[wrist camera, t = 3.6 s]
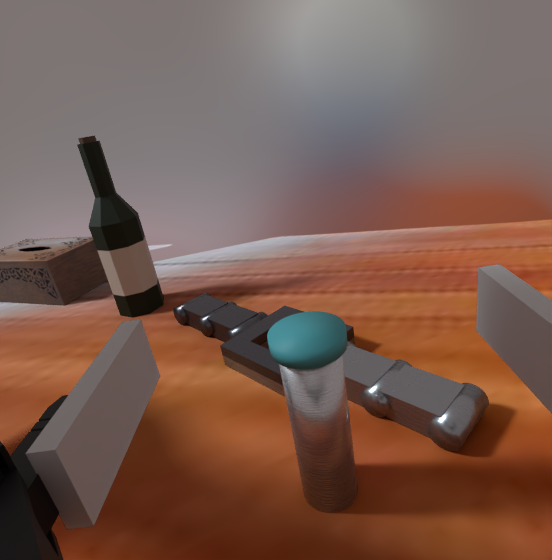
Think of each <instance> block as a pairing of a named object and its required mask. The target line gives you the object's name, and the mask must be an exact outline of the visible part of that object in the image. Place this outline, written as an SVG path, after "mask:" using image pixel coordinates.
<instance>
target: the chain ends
mask: <svg viewBox="0 0 552 560" xmlns="http://www.w3.org/2000/svg"><path fill="white" fill-rule="evenodd" d="M302 312H303V311H300V310H297V309H294V308H290V307H287V306H283V307H282V308H280V309H279V310H277V311H275V312H274V313H272V314H270V315H269V316H268V315H267V314H265V313H264V312H259V313H257V312H254V311H251V310H248V309H245V308H242V307H240V306H237V305H236V304H235V303H234V302H229V303H228V302H225V301H222V300H220V299H217V298H214V297H211V296H210V295H209V294H208V293H204V294H202V295H200V296H198V297H196V298H194V299H192V300H190V301H188V302H186V303H184V304H182V305H180V306H178V307H176V308H174V315H175V318H176V319H177V321H178V322H179V323H180V324H181V325H184V324H187V325H189V326H191V327H193V328H195V329H198V330H200V331H201V332H202V333H203V334H204V335H205V336H207V337H209V336H213V337H215V338H217V339H219V340H221V341H223V342H225V343H223V344H222V345H220V347H221V350H222V354H223V358H224V362H225V365H226V366H228V367H230V368H232V369H234V370H236V371H238V372H240V373H242V374H243V375H245V376H247V377H249V378H251V379H253V380H255V381H257V382H258V383H260V384H262V385H264V386H266V387H268V388H270V389H272V390H274V391H275V392H277V393H279V394H281V395H283V396H285V393H284V388H283V382H282V377H281V372H280V367H279V364H278V363H277V362H275V361H274V360H273V358H272V357H271V354H270V349H269V344H268V339H267V334H268V331H269V330H270V328H271V327H272V326H273V325H274V324H275V323H276V322H278V321H279V320H281V319H283V318H285V317H288V316H290V315H293V314H297V313H302ZM346 333H347V342H348V345H347V349H346V351H345V353H344V354H343V355H342V356H343V365H344V374H345V382H346V391H347V399H348V400H350V401H352V402H354V403H356V404H359V405H361V406H363V407H364V408H365V409H366V410H367V411H368V412H369V413H370V414H372V415H373V416H375V417H380V418H381V417H386V418H389V419H391V420H393V421H395V422H397V423H399V424H401V425H404V426H406V427H408V428H410V429H412V430H414V431H416V432H419V433H421V434H423V435H425V436H427V437H429V438H431V439H432V440H433V442H434V443H436V444H437V445H438V446H439V447H441V448H443V449H445V450H448V451H458V450H459V449H460V448H461V446H462V445H463V443H464V442H465V440H466V439H467V437H468V436H469V434H470V433H471V431H472V430H473V428H474V427H475V425H476V424H477V422H478V421H479V419H480V418H481V416H482V415H483V413H484V411H485V410H486V408H487V407H488V405H489V400H488V397H487V395H486V394H485V392H484V391H483V390H482V389H480V388H479V387H478V386H476V385H473V384H470V383H462V384H460V383H457V382H454V381H452V380H449V379H446V378H443V377H440V376H437V375H434V374H432V373H429V372H426V371H423V370H420V369H417V368H414V367H412V366H411V365H410V364H409V363H408V362H406V361H404V360H395V361H394V360H391V359H389V358H386V357H383V356H380V355H377V354H374V353H371V352H369V351H366V350H363V349H360V348H357V347H356V346H355V341H354V331H353V327H352V326H349V325H346Z"/></svg>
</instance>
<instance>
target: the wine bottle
mask: <svg viewBox="0 0 552 560" xmlns="http://www.w3.org/2000/svg"><path fill="white" fill-rule="evenodd" d="M79 142H80V144H79V145H78V148H79V151H80V154H81V157H82V160H83V163H84V166H85V169H86V172H87V174H88V177H89V180H90V183H91V186H92V189H93V192H94V195H95V202H94V207H93V211H92V215H91V219H90V223H89V229H90V231H91V234H92V237H93V240H94V243H95V245H96V248H97V251H98V254H99V257H100V259H101V262H102V265H103V268H104V270H105V273H106V276H107V279H108V282H109V284H110V287H111V290H112V293H113V296H114V298H115V301H116V304H117V307H118V309H119V312H120V315H122V316H128V317H136V316H140V315H144V314H148V313H151V312H152V311H154V310H156V309H157V308H159V307H160V306H162V305H163V300H164V297H163V294H162V291H161V288H160V284H159V281H158V278H157V275H156V271H155V268H154V265H153V261H152V258H151V255H150V252H149V248H148V245H147V242H146V239H145V235H144V232H143V229H142V225H141V222H140V219H139V216H138V213H137V212H136V211H135V210H134V209H133V208H132V207H131V206H130V205H129V204H128V203H127V202H125V200H123V199H122V198H121V197H120V196H119V195H118V194H117V193H116V191H115V188H114V184H113V181H112V178H111V175H110V172H109V169H108V166H107V163H106V160H105V156H104V154H103V150H102V147H101V144H100V141H96V138H95V136H90V137H85V138H79Z"/></svg>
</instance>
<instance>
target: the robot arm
mask: <svg viewBox="0 0 552 560" xmlns="http://www.w3.org/2000/svg"><path fill="white" fill-rule="evenodd" d="M476 331H477V332H478V333H479V334H480V335H481V336H482V337H483V339H484V340H485V341H486V342H487V343H488V344H489V345H490V346H491V347H492V348H493V350H494V351H495V352H496V353H497V354H498V355H499V356H500V357H501V358H502V359H503V360H504V362H505V363H506V364H507V365H508V366H509V367H510V368H511V369H512V370H513V371H514V373H515V374H516V375H517V376H518V377H519V378H520V379H521V380H522V381H523V382H524V384H525V385H526V386H527V387H528V388H529V389H530V390H531V391H532V392H533V393H534V395H535V396H536V397H537V398H538V399H539V400H540V401H541V402H542V403H543V404H544V405H545V407H546V408H547V409H548V410H549V411H550V412H551V413H552V300H550V299H549V298H548V297H546V296H545V295H543V294H542V293H540V292H539V291H537V290H536V289H534V288H533V287H531V286H530V285H529V284H527V283H526V282H524V281H523V280H521V279H520V278H518V277H517V276H515V275H514V274H513V273H511V272H510V271H508V270H507V269H505V268H504V267H502V266H501V265H499V264H498V265H491V266H485V267H478V293H477V329H476ZM159 378H160V374H159V371H158V368H157V365H156V362H155V359H154V356H153V353H152V351H151V348H150V345H149V342H148V339H147V336H146V333H145V330H144V327H143V324H142V321H141V319H139V320H132V321H126V322H122V323H121V324H120V326H119V327H118V329H117V330H116V331H115V333H114V334H113V335H112V337H111V338H110V339H109V341H108V342H107V343H106V345H105V346H104V348H103V349H102V350H101V352H100V353H99V354H98V356H97V357H96V358H95V360H94V361H93V363H92V364H91V365H90V367H89V368H88V369H87V371H86V372H85V373H84V375H83V376H82V377H81V379H80V380H79V382H78V383H77V384H76V386H75V387H74V388H73V390H72V391H71V392H70V394H69V395H65V396H62V397H60V398H59V399H58V400H57V401H56V402H54V403H53V404H52V405H51V406H49V407H48V408H47V410H46V411H45V412H44V414H43V415H42V416H41V417H40V419H39V422H37V423H36V424H35V425H34V426H33V428H32V429H31V432H29V433H28V434H27V436H26V437H25V438H24V439H23V441H22V442H21V443H20V445H19V446H18V447H17V448H16V450H15V451H14V452H13V454H12V455H11V456H9V454H8V452H7V450H6V449H5V447H4V445H3V444H2V443H1V442H0V560H63V557H62V554H61V551H60V548H59V545H58V542H57V539H56V536H55V534H54V532H53V531H52V529H51V528H52V526H53V524H54V522H55V520H56V518H57V516H58V515H59V516H60V517H61V519H62V521H63V523H64V525H65V527H66V528H67V529H72V528H81V527H89V526H94V525H95V522H96V520H97V518H98V516H99V513H100V511H101V509H102V507H103V504H104V502H105V500H106V497H107V495H108V493H109V491H110V488H111V486H112V484H113V482H114V479H115V477H116V475H117V473H118V470H119V468H120V466H121V464H122V461H123V459H124V457H125V454H126V452H127V450H128V448H129V445H130V443H131V441H132V439H133V436H134V434H135V432H136V430H137V427H138V425H139V423H140V421H141V418H142V416H143V414H144V411H145V409H146V407H147V405H148V402H149V400H150V398H151V396H152V393H153V391H154V389H155V387H156V384H157V382H158V380H159Z"/></svg>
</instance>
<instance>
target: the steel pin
mask: <svg viewBox="0 0 552 560" xmlns="http://www.w3.org/2000/svg"><path fill="white" fill-rule="evenodd" d="M267 339H268V344H269V349H270V354H271V357H272V358H273V360H274V361H275V362H277V363H278V364H279V367H280V372H281V377H282V382H283V388H284V393H285V398H286V403H287V408H288V414H289V419H290V424H291V429H292V434H293V439H294V445H295V450H296V455H297V460H298V465H299V471H300V476H301V481H302V486H303V491H304V495H305V498H306V500H307V501H308V503H309V504H310V505H311V506H312V507H314V508H315V509H317V510H319V511H322V512H328V513H333V512H339V511H342V510H344V509H346V508H347V507H349V506H350V505H351V504H352V503H353V501H354V500H355V498H356V496H357V492H358V485H357V477H356V468H355V460H354V451H353V442H352V434H351V425H350V417H349V408H348V399H347V391H346V382H345V374H344V365H343V356H342V355H343V354H344V353H345V351H346V349H347V345H348V342H347V333H346V325H345V323H344V322H343V320H342V319H340V318H339V317H337V316H335V315H333V314H330V313H326V312H302V313H297V314H293V315H290V316H288V317H285V318H283V319H281V320H279V321H278V322H276V323H275V324H274V325H273V326H272V327H271V328H270V330H269V331H268V334H267Z"/></svg>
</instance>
